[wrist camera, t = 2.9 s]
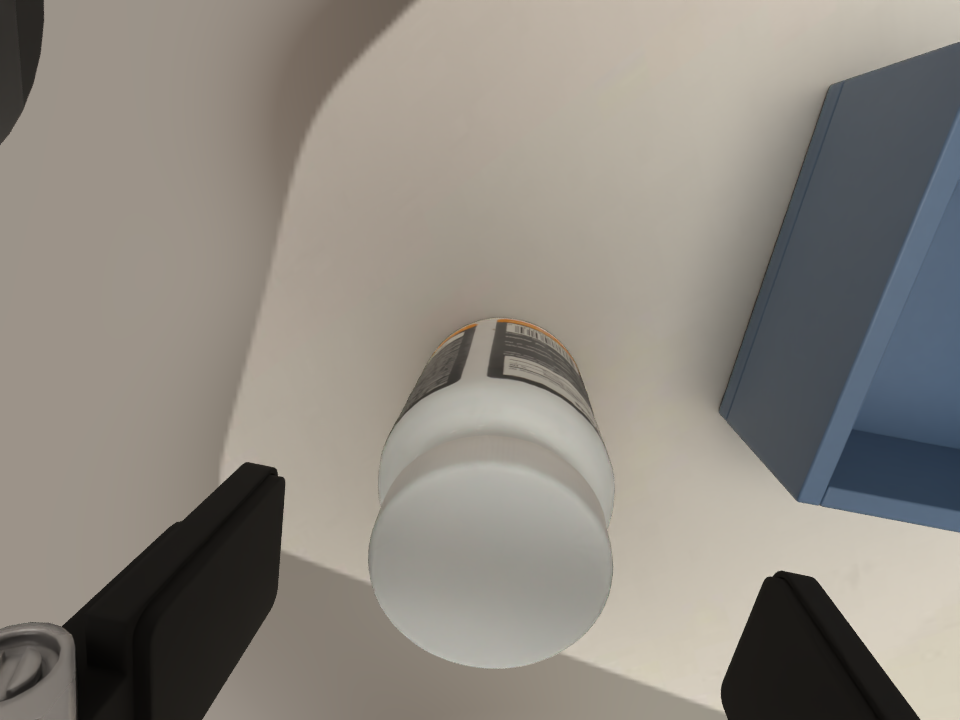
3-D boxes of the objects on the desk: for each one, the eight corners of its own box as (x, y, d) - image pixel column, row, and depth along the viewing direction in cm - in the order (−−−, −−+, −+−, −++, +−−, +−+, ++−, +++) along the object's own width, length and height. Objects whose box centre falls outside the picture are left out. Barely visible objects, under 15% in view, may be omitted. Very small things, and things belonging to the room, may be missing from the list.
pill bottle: (456, 476, 21) (402, 717, 11) (401, 340, 19) (287, 486, 10) (601, 437, 20) (674, 662, 10) (555, 290, 18) (592, 398, 9)
